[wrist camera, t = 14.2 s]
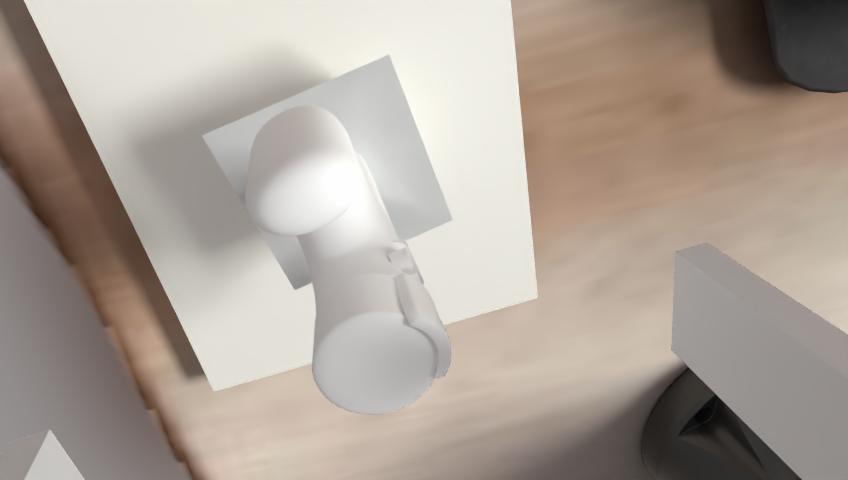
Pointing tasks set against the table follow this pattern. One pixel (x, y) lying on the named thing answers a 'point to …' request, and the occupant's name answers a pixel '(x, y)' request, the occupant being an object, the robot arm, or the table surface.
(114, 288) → the table surface
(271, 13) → the board
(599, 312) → the table surface
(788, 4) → the casserole
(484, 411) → the table surface
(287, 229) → the figurine
